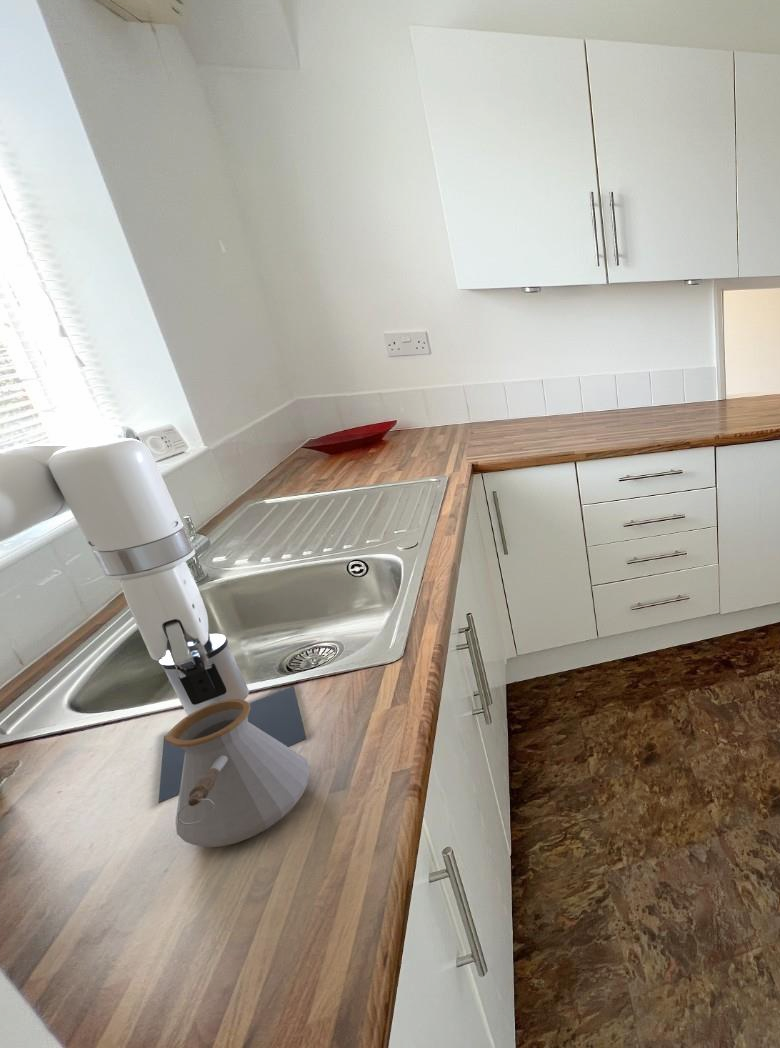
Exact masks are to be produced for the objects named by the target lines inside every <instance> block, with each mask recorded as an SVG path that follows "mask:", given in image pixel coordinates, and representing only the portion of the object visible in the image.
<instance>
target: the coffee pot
mask: <svg viewBox="0 0 780 1048" xmlns="http://www.w3.org/2000/svg"><path fill="white" fill-rule="evenodd" d="M249 703H250V702H248V701H246V699H245V700H241V699H230V700H225V701H220V702H217V703H214V704H211V705H208V706H206V707H203V708H201V709H199V710H197V711H195V712H193V713H192V714H190V715H187V716H185V717H184V718H182V719H181V720H180V721H179V722H178V723H176V724H175V725H174V726H173V727H172V728H171V729H170V730H169V731H168V732H167V734H165V735H166V736H165V735H164V736H165V737H164V736H163V740H164V739H165V740H166V741H167V742H168V743H170V744H172V745H174V746H178V747H181V748H182V749H184V750H185V757H184V764H183V771H182V779H181V786H180V793H179V795H178V801H177V807H176V814H175V815H176V816H175V822H174V823H175V829H176V834H177V836H178V837H180V839H181V840H182V841H184V842H185V843H188V844H191V845H193V846H197V847H200V848H216V847H217V848H219V847H226V846H230V845H234V844H238V843H240V842H243V841H246V840H248V839H251V838H253V837H255V836H257V835H258V834H260V833H262V832H264V831H266V830H267V829H269V828H270V827H272V826H273V825H275V824H276V823H277V822H279V821H281V820H282V819H283V818H284V817H285V816H286V815H287V814H288V813H289V812H290V811H292V809H293V808H294V807H295V805H296V804H297V803H298V802H299V800H300V798H301V797H302V796H303V795H304V793H305V790H306V789H307V786H308V783H309V779H310V770H311V769H310V767H311V766H310V764H309V762H308V760H307V758H306V757H304V756H303V755H301V754H300V753H298V752H297V751H295V750H294V749H292V748H290V746H289V747H287V746H286V745H284V744H282V743H281V742H279V741H278V740H276V739H275V738H273V737H271V736H270V735H268V734H267V733H265V732H263V731H262V730H260V729H259V728H257V727H256V726H254V725H252V724H251V723H249V722H248V714H249V712H250V708H251V707H250V704H249Z"/></svg>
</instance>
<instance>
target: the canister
mask: <svg viewBox="0 0 780 1048" xmlns="http://www.w3.org/2000/svg"><path fill="white" fill-rule="evenodd" d="M195 644H197V643H196V640H195V639H194V640H191V641H188V645H189V646H192V645H195ZM204 647H205V650H206V652H207V655H208V657H209V660H210V662H211V664H214V663H215V665H216V667H217V669H218V672H219V674H220V676H221V678H222V680H223V682H224V684H225V687H226V689H227V692H226V693H225V694H223V695H221V696H218V697H216V698H213V699H210V700H208V701H205V702H202V703H200V704H197V705H193V704H192V703H191V701H190V699H189V697H188V695H187V693H186V691H185V689H184V687H183V685H182V683H181V681H180V679H179V675H178V672H177V670H176V667H175V665H174V662H173V660H172V657H171V655H170V652H169V650H168V649H167V650H166V657H163V658H162V659H161V660H159V661H158V663H159V665H160V667H161V668H162V669H163V670H164V672H165V674H166V676H167V678H168V680H169V682H170V684H171V686H172V688H173V690H174V692H175V694H176V696H177V698H178V700H179V702H180V703H181V705H182V708H183V710H184V712H185V714H186V715H187V716H188V715H190V714H192V713H193V712H195V711H197V710H199V709H201V708H203V707H206V706H208V705H211V704H214V703H217V702H220V701H225V700H230V699H241V700H245V701H246V699H247V698H248V696H249V694H250V690H249V688H248V685H247V683H246V680H245V679H244V676H243V674H242V672H241V670H240V668H239V666H238V665H239V664H238V663H237V661H236V659H235V657H234V654H233V652H232V650H231V648H230V645H229V641H228V639H227V636H225V635H224V634H222V633H210V635H208V641H207V642H206V644H205V645H204ZM191 653H192V654H193V657H194V656H198V657H200V655H199V653H198V650H194V651H191Z"/></svg>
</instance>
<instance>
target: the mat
mask: <svg viewBox="0 0 780 1048" xmlns="http://www.w3.org/2000/svg"><path fill="white" fill-rule="evenodd" d="M248 703H249V704H250V707H251V708H250V712H249V714H248V722H249V723H251V724H252V725H254V726H256V727H257V728H259V729H260V730H262V731H263V732H265V733H267V734H268V735H270V736H271V737H273V738H275V739H276V740H278V741H279V742H281V743H282V744H284V745H286V746H287V747H289V748H290V747H292V746H294V745H296V744H298V743H300V742H303V741H305V740H307V735H306V731H305V728H304V723H303V719H302V715H301V710H300V707H299V704H298V699H297V694H296V691H295V687H294V685H292V686H289V687H286V688H284V689H282V690H278V691H276V692H274V693H272V694H268V695H266V696H264V697H261V698H259V699H256V700H253V701H251V702H248ZM166 735H167V734H165V735H164V736H163V743H162V755H161V756H162V757H161V769H160V778H159V790H158V791H159V793H158V794H159V795H158V804H161V803H163V802H165V801H168V800H170V799H172V798H174V797H177V796H179V793H180V786H181V779H182V771H183V764H184V757H185V750H184V749H182V748H181V747H178V746H174V745H172V744H170V743H168V742H167V741H166V740H165V739H164V737H165V736H166Z"/></svg>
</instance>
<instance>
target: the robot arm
mask: <svg viewBox="0 0 780 1048" xmlns="http://www.w3.org/2000/svg"><path fill="white" fill-rule="evenodd" d="M68 511H71V513H72V515H73V517H74V519H75V521H76V524H77V525H78V527H79V529H80V531H81V533H82V535H83V536H84V538H85V540H86V542H87V544H88V546H89V548H90V549H91V552H92V554H93V556H94V558H95V560H96V561H97V563H98V565H99V567H100V569H101V571H102V573H103V576H104V577H105V578H106V579H108V580H111V581H119V582H120V586H121V589H122V592H123V595H124V599H125V601H126V603H127V606H128V608H129V611H130V613H131V615H132V617H133V620H134V622H135V624H136V627H137V629H138V632H139V634H140V636H141V638H142V640H143V642H144V644H145V647H146V649H147V651H148V653H149V656H150V658H151V659H152V660H154V661H158V662H159V660H161V659H162V658H163V657H166V651H168V650H169V652H170V655H171V657H172V660H173V662H174V665H175V667H176V670H177V672H178V675H179V679H180V681H181V683H182V685H183V687H184V689H185V691H186V693H187V695H188V697H189V699H190V701H191V703H192V704H193V705H197V704H200V703H202V702H205V701H208V700H210V699H213V698H216V697H218V696H221V695H223V694H225V693H226V692H227V689H226V687H225V684H224V682H223V680H222V678H221V676H220V674H219V672H218V669H217V667H216V665H215V663H214V664H211V662H210V660H209V657H208V655H207V652H206V650H205V647H204V645H205V644H206V642H207V641H208V635H210V634H211V632H210V631H209V617H208V613H207V608H206V606H205V603H204V600H203V597H202V595H201V593H200V590H199V588H198V585H197V583H196V580H195V579H194V576H193V574H192V572H191V570H190V567H189V566H188V564H187V561H189V560H190V559H192V557H194V556H195V554H196V550H195V548H194V545H193V544H192V540H191V539H190V536H189V533H188V531H187V529H186V527H185V525H184V523H183V521H182V519H181V517H180V514H179V512H178V510H177V507H176V505H175V503H174V500H173V498H172V496H171V494H170V492H169V490H168V486H167V484H166V482H165V480H164V477H163V476H162V474H161V471H160V469H159V467H158V464H157V462H156V460H155V458H154V455H153V453H152V451H151V450H150V448H149V447H148V446H147V445H146V444H145V443H144V442H143V441H141V440H138V439H135V438H126V437H119V438H118V437H117V438H108V439H107V438H106V439H101V440H93V441H88V442H84V443H79V444H50V443H43V444H42V443H40V444H39V443H37V444H36V443H34V444H23V445H16V446H12V447H8V448H5V449H2V450H0V542H3V541H5V540H9V539H10V538H12V537H14V536H17V535H19V534H20V533H23V532H24V531H26V530H29V529H30V528H32V527H35V526H36V525H39V524H40V523H43V522H45V521H48V520H50V519H53V518H56V517H57V516H60V515H62V514H64V513H67V512H68ZM194 639H195V640H196V643H197V644H195V645H192V646H189V645H188V641H191V640H194ZM194 650H198V653H199V655H200V657H198V656H194V657H193V654H192V653H191V651H194Z"/></svg>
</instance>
